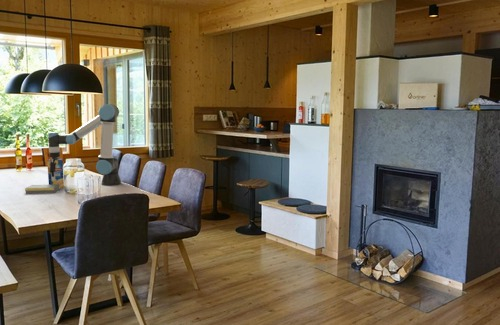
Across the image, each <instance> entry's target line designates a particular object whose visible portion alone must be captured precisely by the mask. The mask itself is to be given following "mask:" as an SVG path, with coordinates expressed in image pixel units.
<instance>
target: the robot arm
mask: <svg viewBox="0 0 500 325" xmlns="http://www.w3.org/2000/svg"><path fill="white" fill-rule="evenodd" d="M119 114H120V110H119V108H118V106H117V105H116V104H112V103H111V104H103V105H101V106H100V107H99V109H98V115H97V116H95V117H94V118H92V119H91V120H89V121H88V122H86V123H85V124H83V125H82V126H80V127H79V128H77V129H76V130H74V131H72V132H71V133H68V134H67V133H66V134H60V133H59V132H58V131H50V132H48V136H47V139H48V140H47V141H48V148H47V149H48V152H49V154H48V155H49V158H50V159H51V160H50V161H51V163H50V173H51V179H52V181H56V180H55V166H56V163H54V162H55V160H57V159H60V156H61V152H60V151H61V149H60V148H61V147H60V145H69V146H70V145H74V144H76V143H77V142H79V141H80V140H81V139H82V138H84V137H86V136H87V135H88V134H90V133H92V132H93V131H95V130H96V129H98V128H99V127H100V126H101V134H100V154H99V155H98V157H97V162H96V164H95V169H96V171H97V172H98V173H99V174H101V175H102V179H101V185H102V186H117V185H118V186H119V185H120V184H122V181H121V177H120V175H119V158H118V155H113V140H114V139H113V138H114V137H113V136H114V124H116V118H117V117H118V116H119Z"/></svg>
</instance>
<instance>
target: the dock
mask: <svg viewBox="0 0 500 325" xmlns="http://www.w3.org/2000/svg"><path fill="white" fill-rule="evenodd" d="M24 188H25V189H24V190H25V194H30V195H31V194H55V193H56V192H58V191H60V189H61V188H59V184H53V185H49V184H31V185H28V186H27V187H24Z"/></svg>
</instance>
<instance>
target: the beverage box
mask: <svg viewBox="0 0 500 325" xmlns="http://www.w3.org/2000/svg"><path fill="white" fill-rule="evenodd" d="M51 159H52V158H49V159H48V158H47V161H46V164H47V175H48V185H53V184H59V188H60V189H63V187H64V188H65V178H64V175H65V174H64V159H63V158H59V159H57V160H55V162H54V163H56V166H55V180H56V181H52V179H51V173H50V163H51V161H50V160H51Z"/></svg>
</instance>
